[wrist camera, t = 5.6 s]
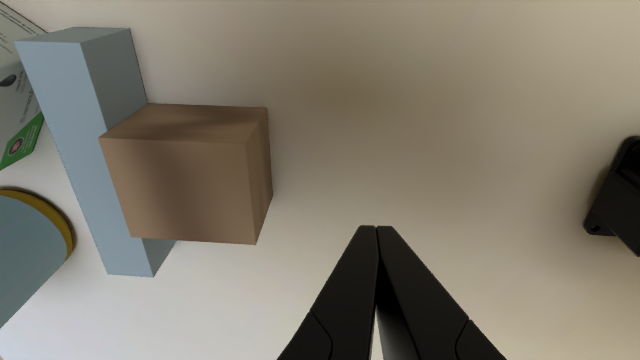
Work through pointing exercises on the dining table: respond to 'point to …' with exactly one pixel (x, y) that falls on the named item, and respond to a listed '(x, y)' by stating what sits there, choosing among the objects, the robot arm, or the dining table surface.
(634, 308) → the dining table surface
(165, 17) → the dining table surface
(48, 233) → the bottle
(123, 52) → the light blue block
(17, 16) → the ink box
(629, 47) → the dining table surface
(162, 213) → the walnut brick
